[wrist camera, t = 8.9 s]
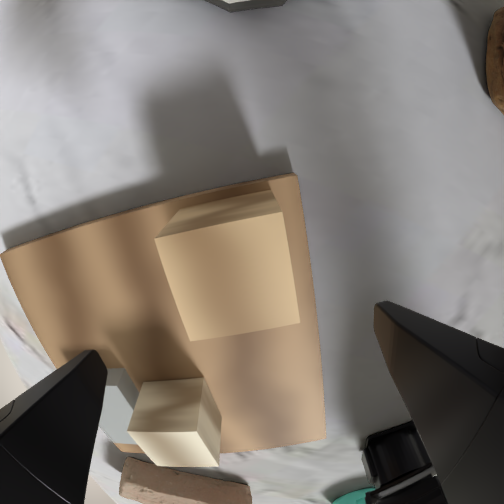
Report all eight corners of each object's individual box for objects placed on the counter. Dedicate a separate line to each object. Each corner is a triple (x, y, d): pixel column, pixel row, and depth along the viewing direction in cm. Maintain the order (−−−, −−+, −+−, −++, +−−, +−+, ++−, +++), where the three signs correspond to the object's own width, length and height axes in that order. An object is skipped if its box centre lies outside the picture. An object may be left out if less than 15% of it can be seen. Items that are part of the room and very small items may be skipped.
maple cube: (271, 189, 16) (282, 211, 11) (286, 273, 17) (300, 322, 13) (179, 209, 16) (154, 238, 11) (203, 289, 18) (190, 341, 13)
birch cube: (203, 377, 20) (196, 431, 16) (221, 416, 22) (218, 466, 17) (143, 381, 20) (126, 431, 16) (166, 420, 22) (157, 466, 18)
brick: (122, 473, 30) (116, 499, 26) (126, 452, 28) (118, 482, 23) (232, 499, 33) (232, 524, 29) (253, 481, 30) (254, 510, 26)
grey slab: (124, 367, 20) (116, 385, 18) (163, 428, 23) (159, 445, 21) (76, 369, 20) (67, 385, 18) (118, 427, 23) (113, 442, 21)
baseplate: (293, 172, 17) (297, 175, 15) (324, 429, 25) (326, 439, 24) (8, 249, 18) (-2, 255, 16) (123, 443, 26) (121, 452, 25)
